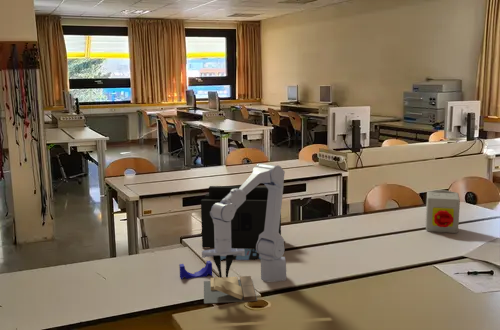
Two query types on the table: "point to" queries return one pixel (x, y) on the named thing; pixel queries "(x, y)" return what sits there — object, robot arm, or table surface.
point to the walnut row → (247, 288)
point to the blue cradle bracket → (201, 273)
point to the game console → (237, 220)
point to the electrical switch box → (442, 211)
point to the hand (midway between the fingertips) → (223, 276)
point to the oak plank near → (228, 287)
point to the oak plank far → (230, 279)
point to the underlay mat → (219, 295)
